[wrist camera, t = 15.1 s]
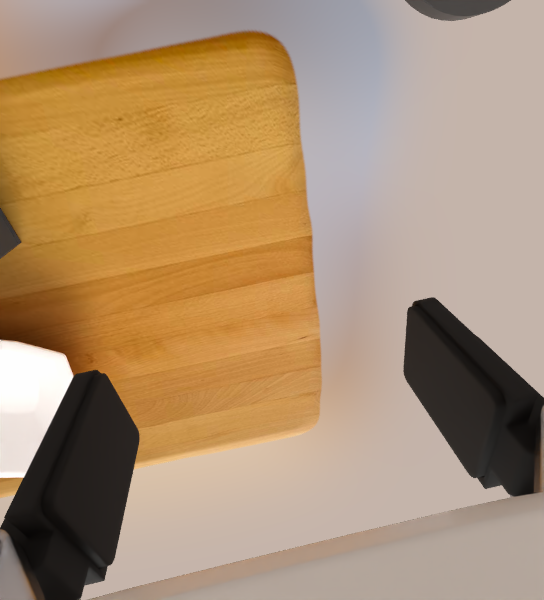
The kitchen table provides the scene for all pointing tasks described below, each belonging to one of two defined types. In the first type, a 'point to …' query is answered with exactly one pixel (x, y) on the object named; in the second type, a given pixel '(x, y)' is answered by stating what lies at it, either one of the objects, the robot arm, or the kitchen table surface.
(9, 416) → the bowl
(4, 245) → the bin
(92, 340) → the kitchen table surface
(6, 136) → the kitchen table surface
